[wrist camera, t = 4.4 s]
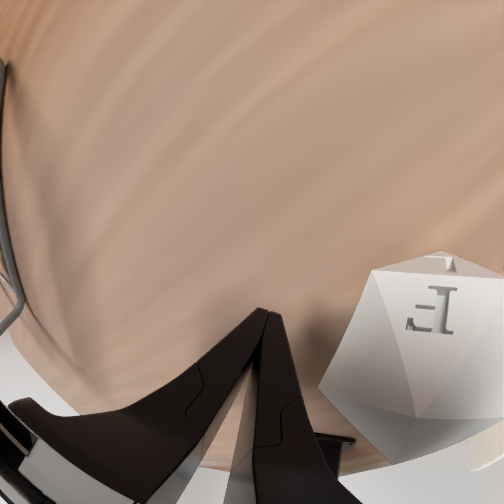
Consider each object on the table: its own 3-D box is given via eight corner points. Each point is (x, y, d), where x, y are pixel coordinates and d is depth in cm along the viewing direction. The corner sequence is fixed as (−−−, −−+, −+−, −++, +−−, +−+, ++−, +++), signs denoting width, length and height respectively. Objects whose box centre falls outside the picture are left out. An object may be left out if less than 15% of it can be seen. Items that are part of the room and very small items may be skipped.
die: (502, 254, 10) (581, 255, 2) (473, 399, 10) (471, 518, 2) (374, 247, 15) (293, 240, 7) (357, 382, 15) (272, 473, 8)
